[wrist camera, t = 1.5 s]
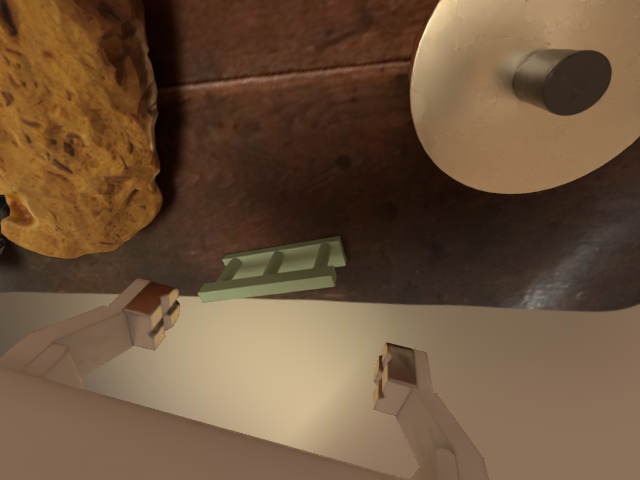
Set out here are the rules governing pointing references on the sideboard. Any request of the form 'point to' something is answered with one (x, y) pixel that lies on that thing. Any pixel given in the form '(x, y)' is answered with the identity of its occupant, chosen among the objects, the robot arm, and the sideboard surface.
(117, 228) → the fossil
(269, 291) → the plate rack
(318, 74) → the sideboard surface
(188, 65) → the sideboard surface
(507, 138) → the lid
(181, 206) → the sideboard surface
